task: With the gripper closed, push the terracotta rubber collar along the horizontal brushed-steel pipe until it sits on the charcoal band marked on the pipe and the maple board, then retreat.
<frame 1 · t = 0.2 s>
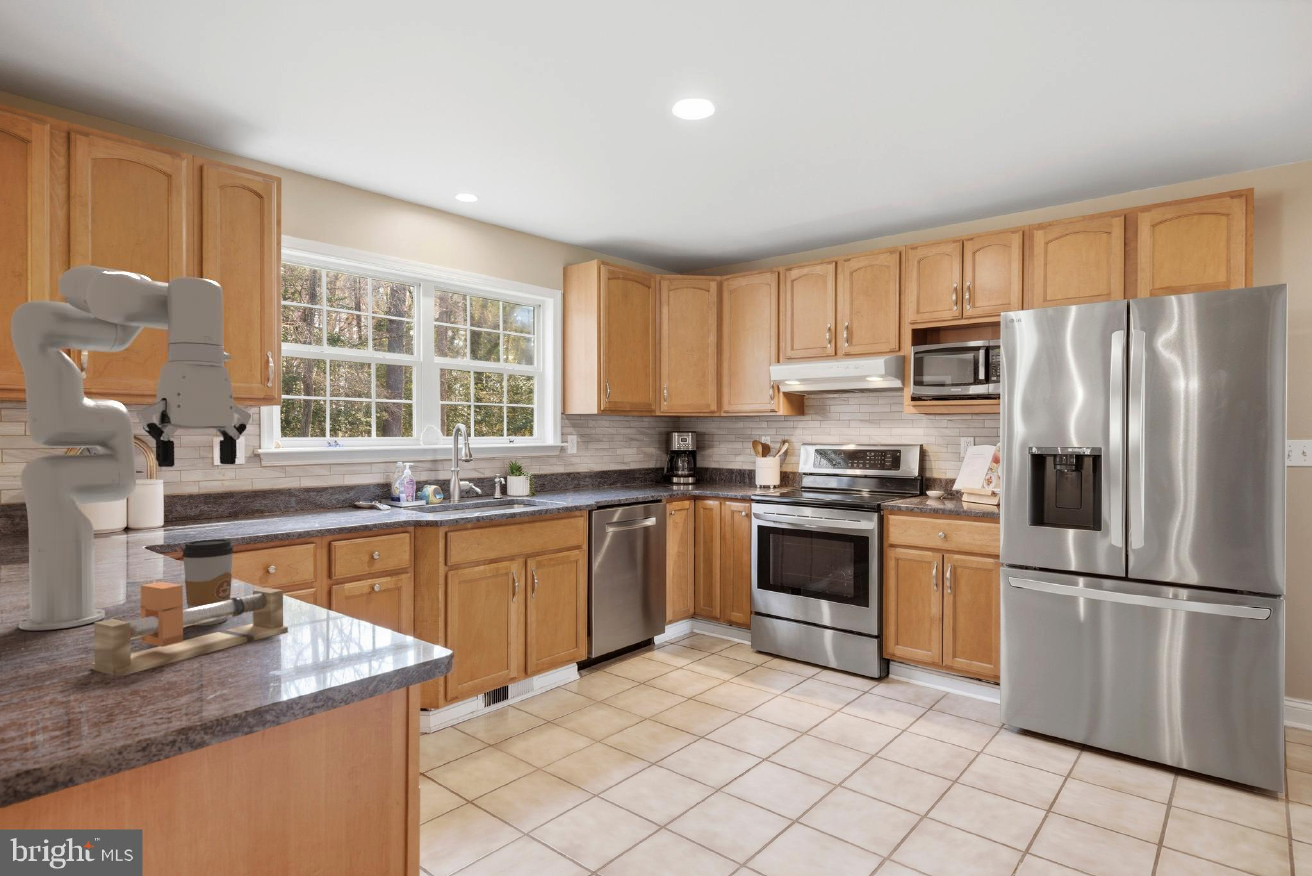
hand: (198, 465, 116), 30 cm above the counter, fingers open, 9 cm apart
board: (197, 648, 121), on the counter
coffee cup: (209, 622, 138), on the counter
collar: (161, 613, 116), point 7 cm above the counter, slide at 0.0 cm
pipe: (197, 615, 121), point 6 cm above the counter
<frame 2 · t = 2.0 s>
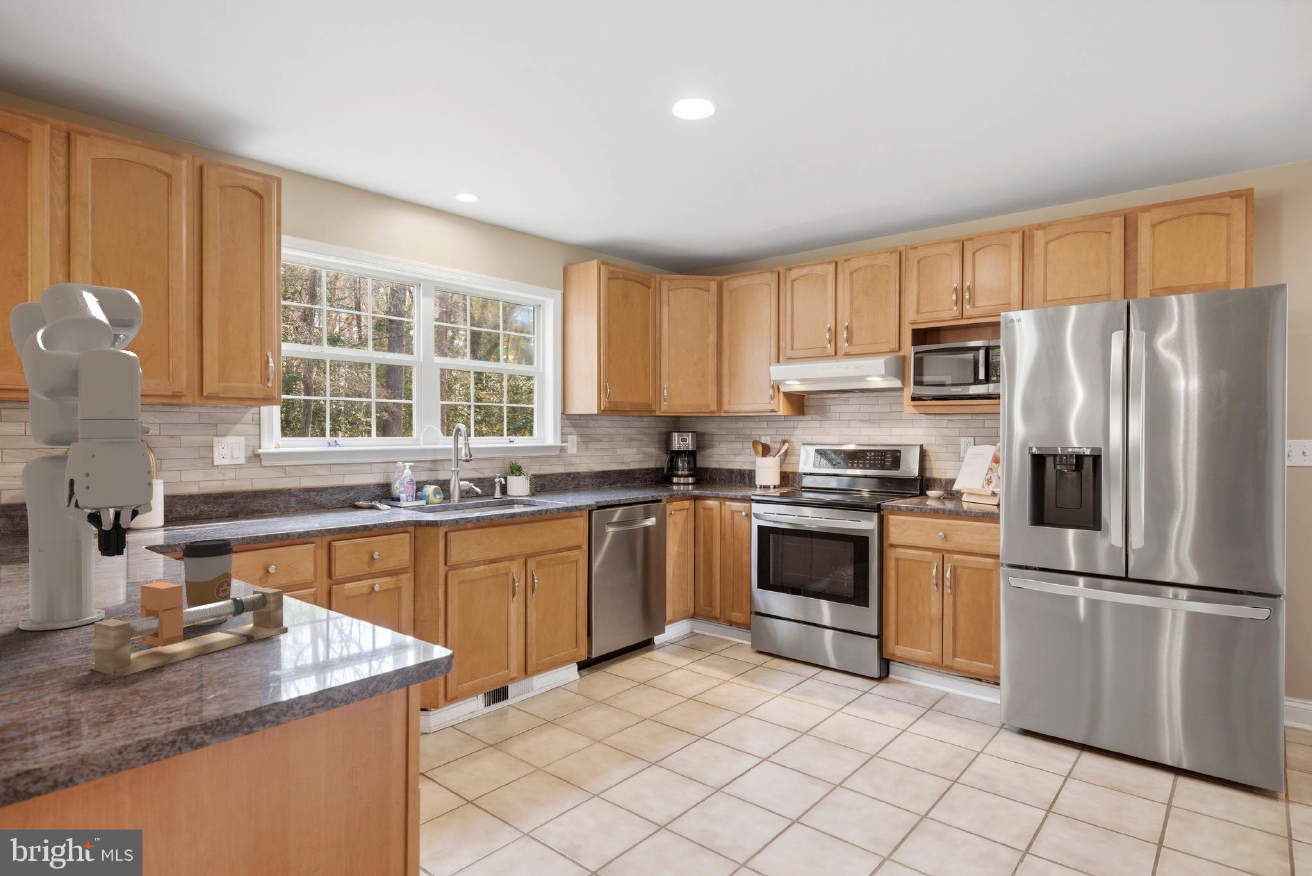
hand: (112, 555, 109), 17 cm above the counter, fingers closed
nothing on the counter moved.
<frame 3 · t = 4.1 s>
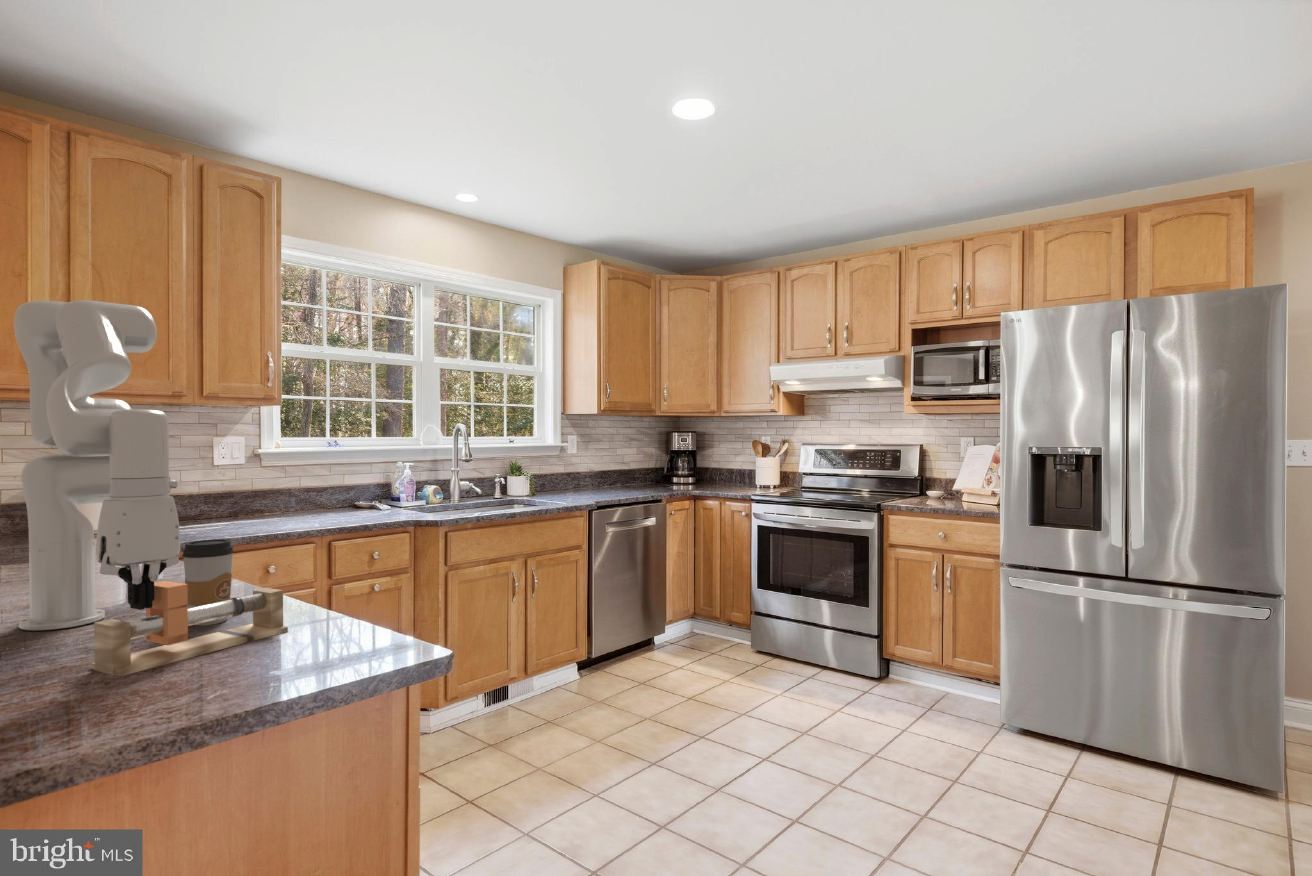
hand: (141, 607, 113), 9 cm above the counter, fingers closed
collar: (166, 612, 117), point 7 cm above the counter, slide at 0.8 cm, touching gripper
everything else where it was.
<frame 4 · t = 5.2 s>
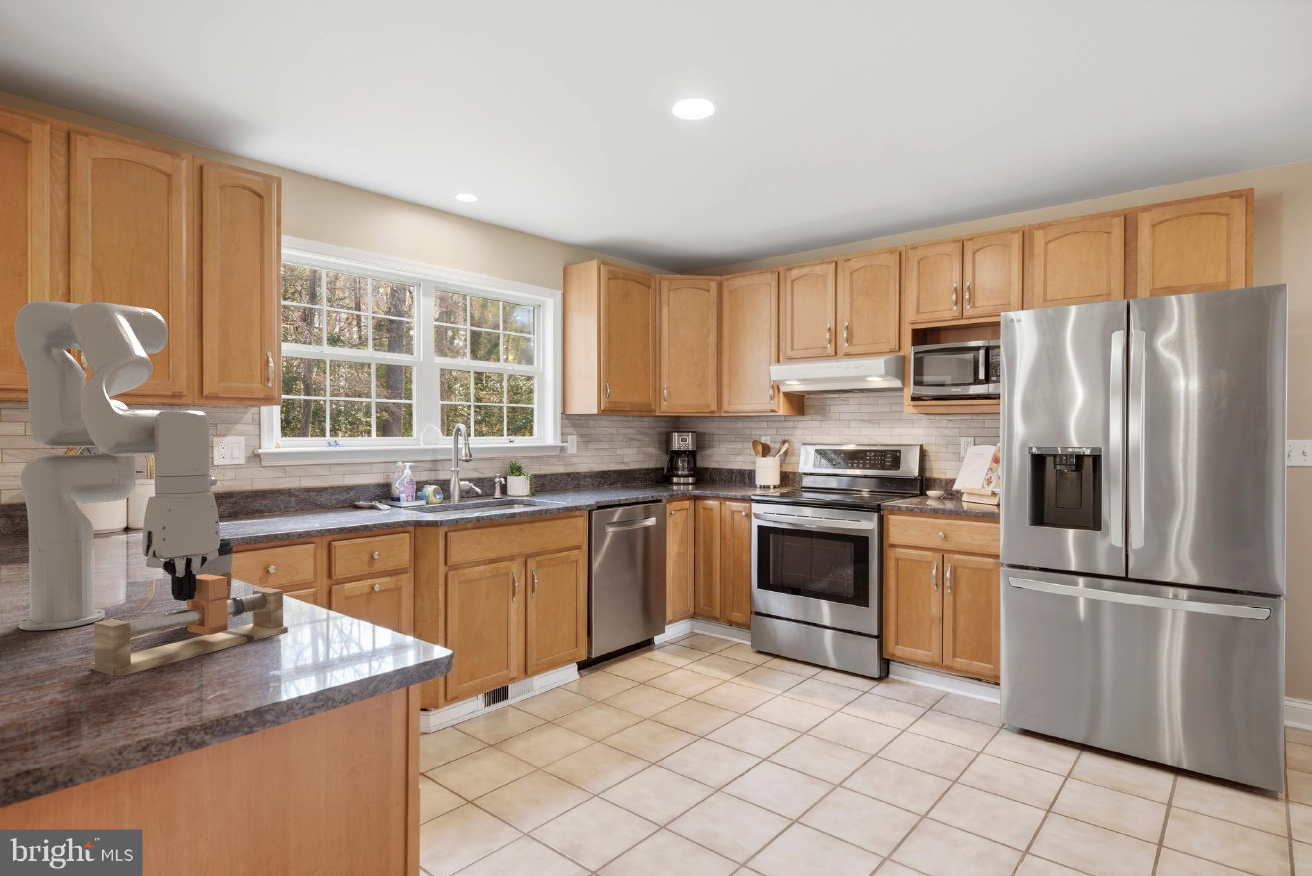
hand: (183, 599, 119), 9 cm above the counter, fingers closed
collar: (207, 604, 122), point 7 cm above the counter, slide at 7.1 cm, touching gripper
everything else where it was.
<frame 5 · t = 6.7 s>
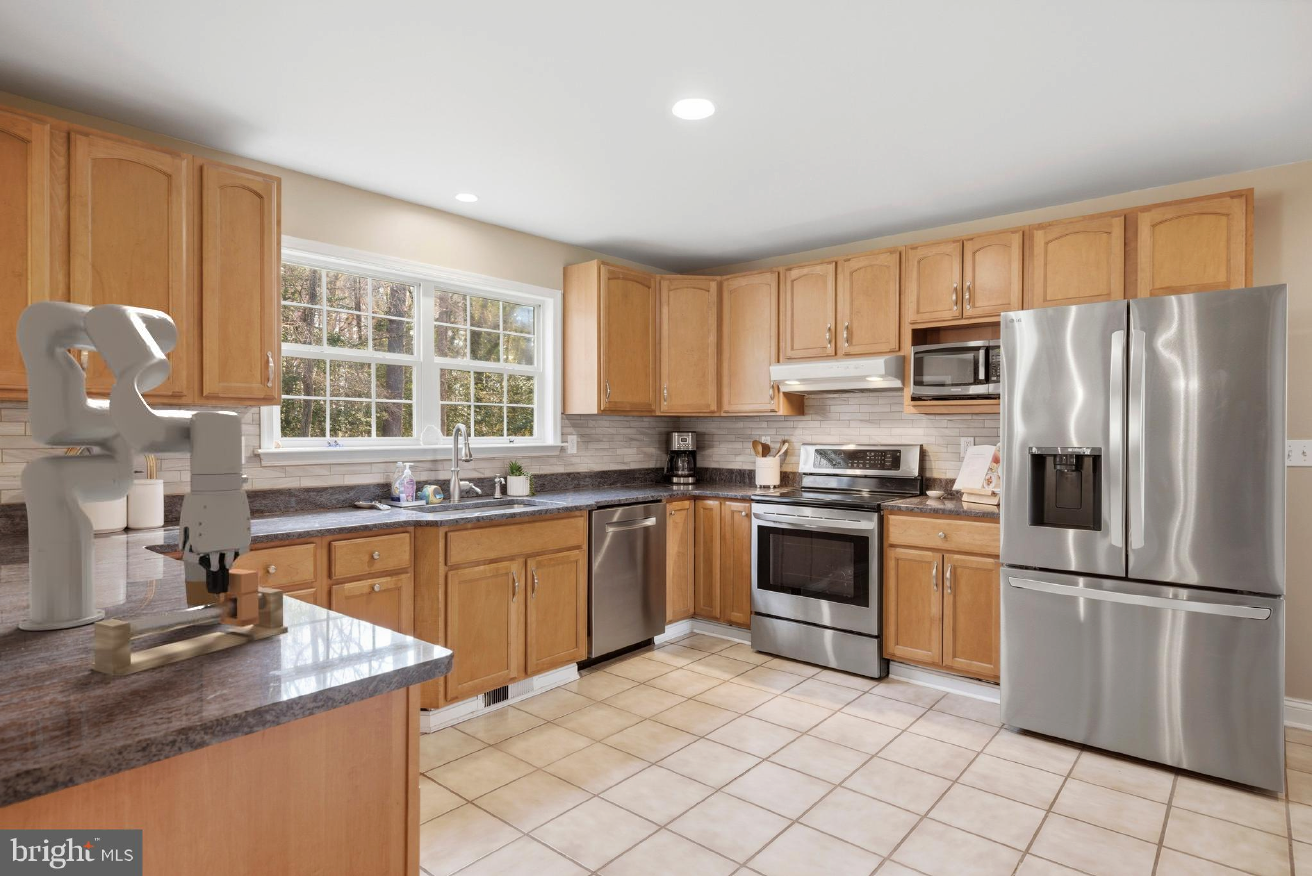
hand: (217, 592, 124), 9 cm above the counter, fingers closed
collar: (239, 597, 127), point 7 cm above the counter, slide at 12.7 cm, touching gripper
everything else where it was.
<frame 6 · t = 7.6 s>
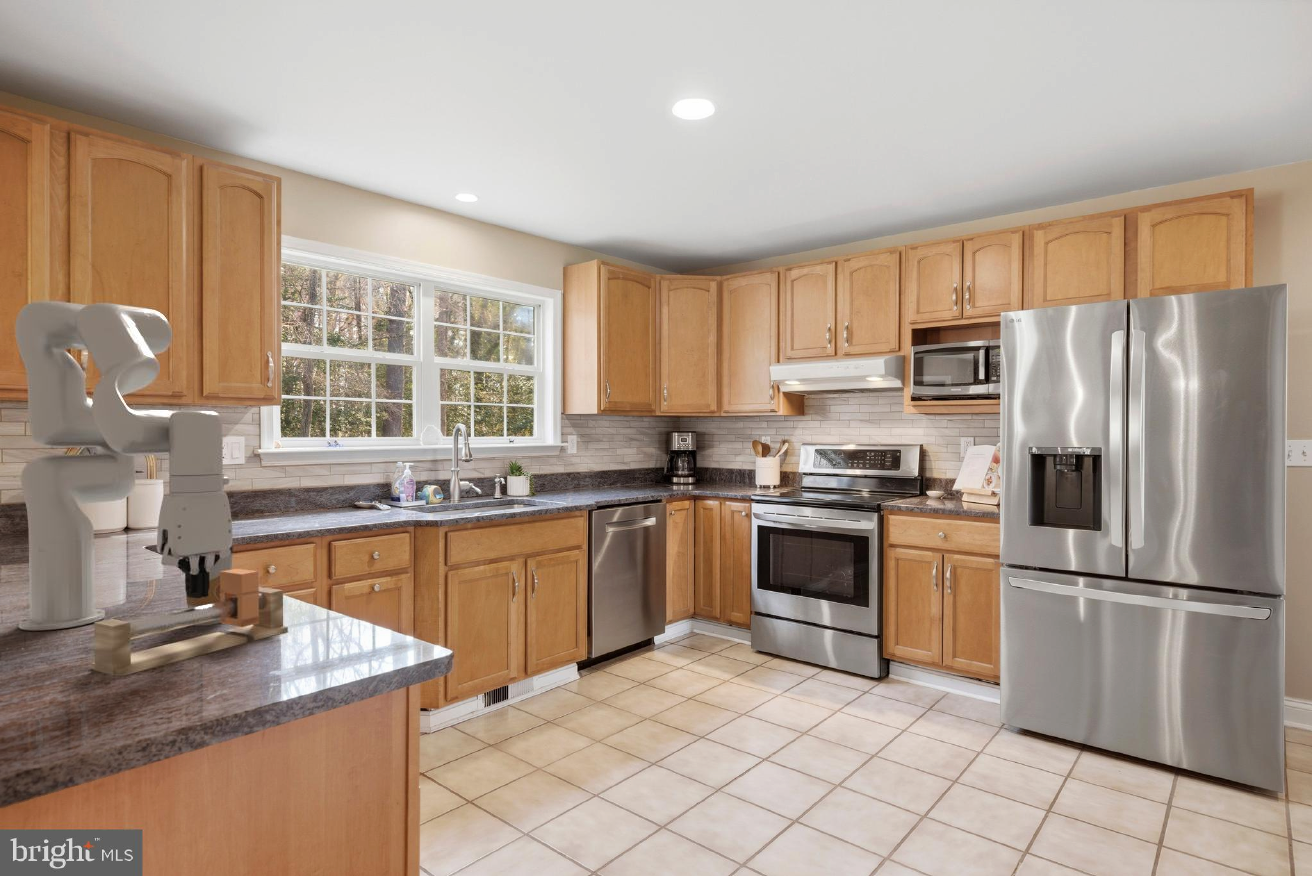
hand: (197, 596, 121), 9 cm above the counter, fingers closed
collar: (239, 597, 127), point 7 cm above the counter, slide at 12.7 cm
everything else where it was.
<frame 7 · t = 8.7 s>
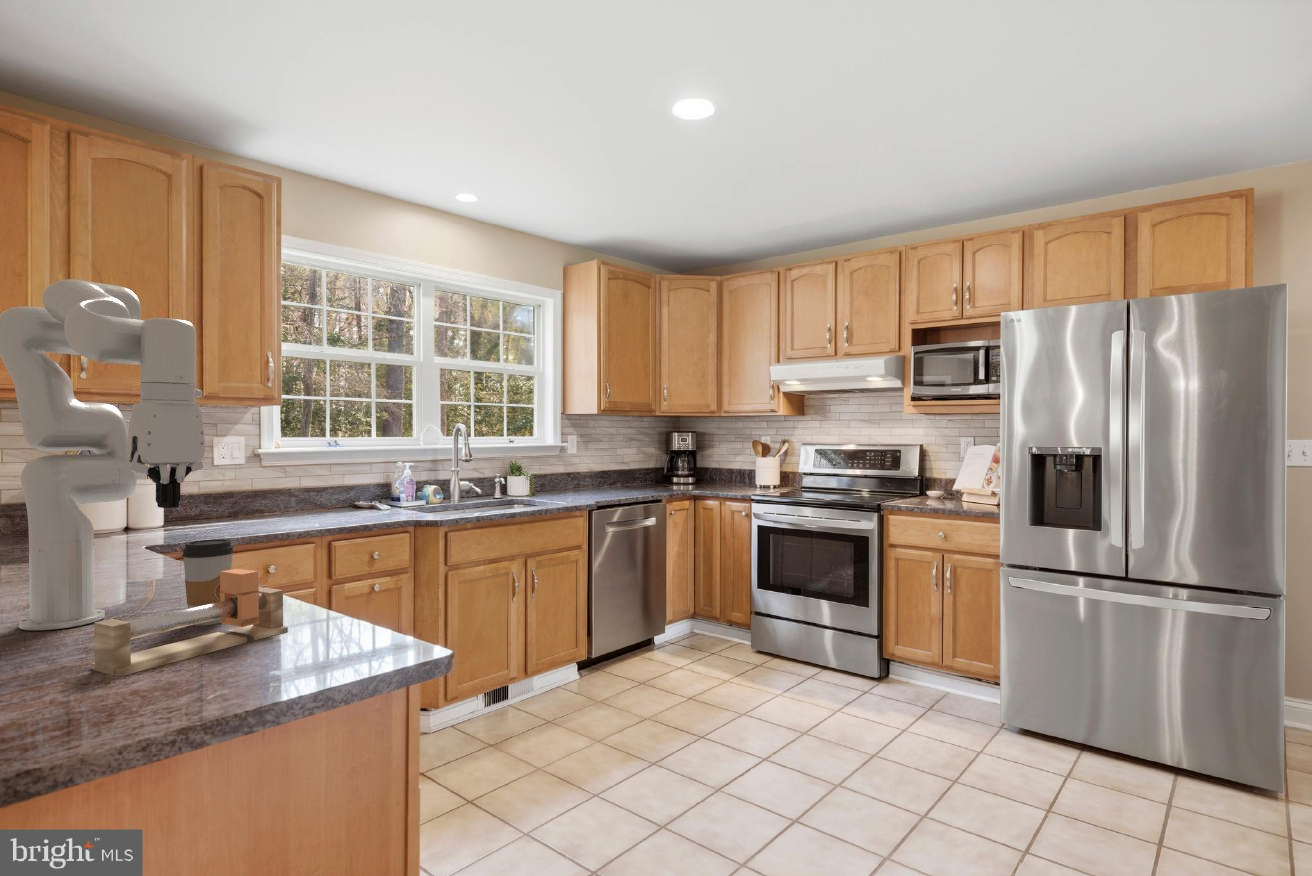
hand: (168, 507, 120), 23 cm above the counter, fingers closed
nothing on the counter moved.
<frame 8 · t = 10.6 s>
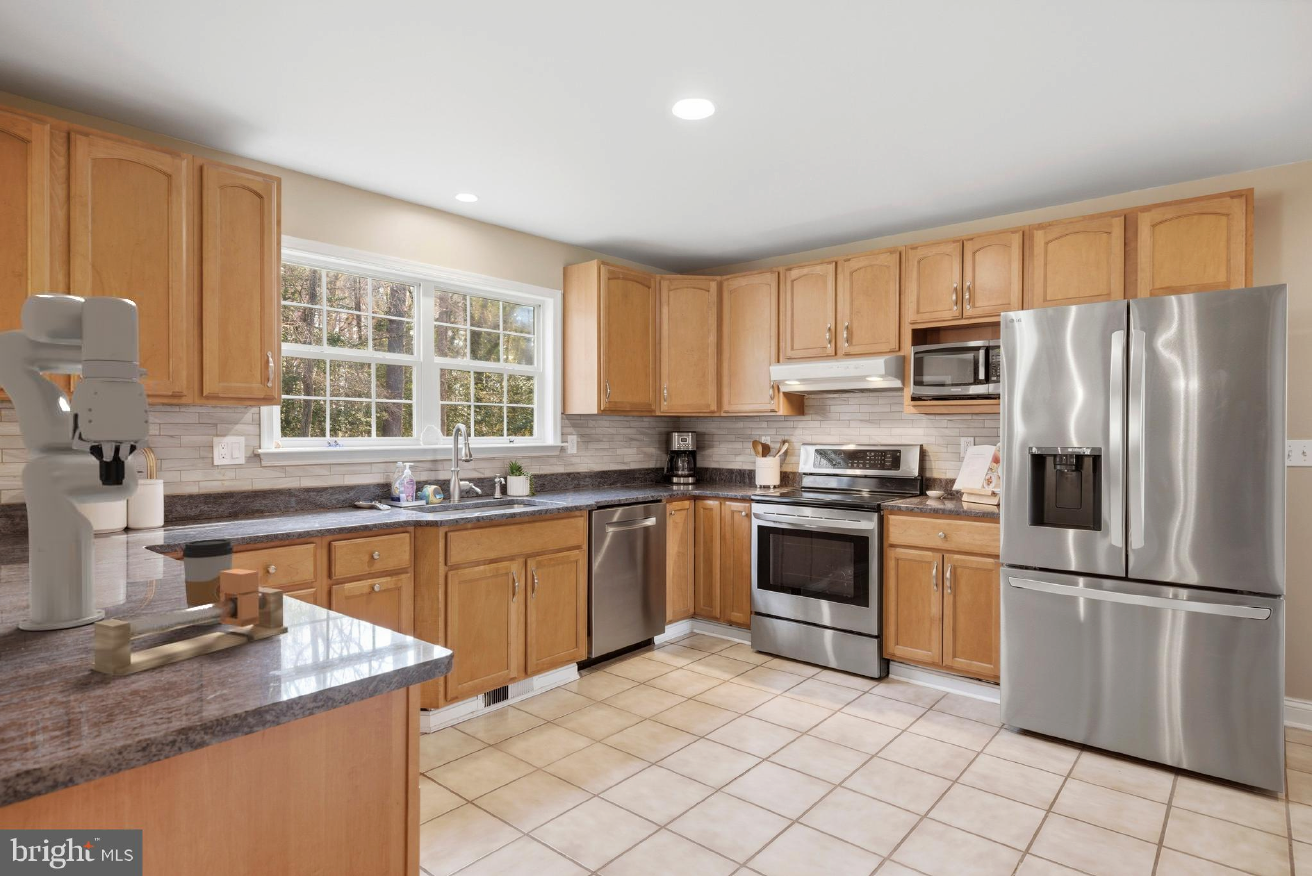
hand: (112, 485, 120), 27 cm above the counter, fingers closed
nothing on the counter moved.
at the end: collar slide at 12.7 cm; the gripper is holding nothing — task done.
